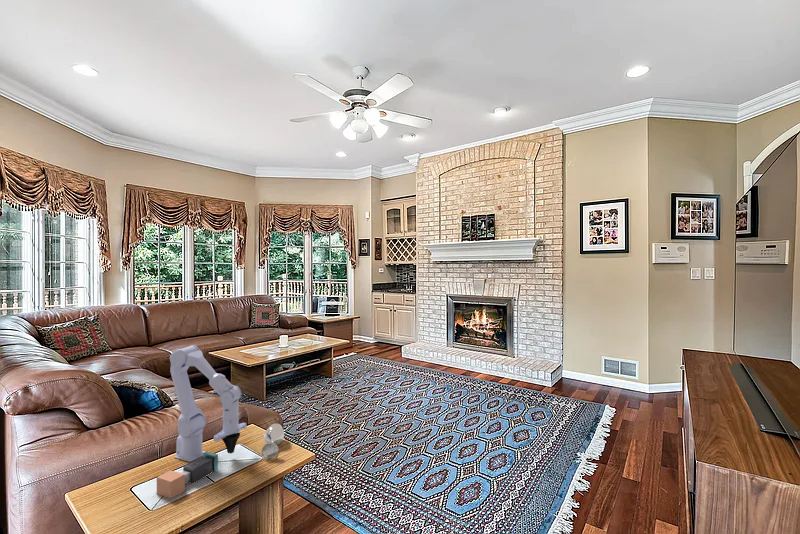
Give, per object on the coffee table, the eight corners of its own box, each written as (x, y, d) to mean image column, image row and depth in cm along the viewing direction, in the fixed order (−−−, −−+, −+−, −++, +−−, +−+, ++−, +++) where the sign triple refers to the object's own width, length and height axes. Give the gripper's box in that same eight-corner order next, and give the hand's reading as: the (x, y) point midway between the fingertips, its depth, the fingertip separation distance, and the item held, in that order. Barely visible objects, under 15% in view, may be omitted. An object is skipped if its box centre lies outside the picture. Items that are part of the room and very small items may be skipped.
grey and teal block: (164, 488, 130) (164, 472, 130) (206, 466, 145) (206, 451, 145) (176, 492, 127) (176, 476, 127) (217, 469, 142) (217, 454, 142)
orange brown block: (156, 493, 127) (156, 477, 128) (170, 485, 132) (170, 470, 132) (170, 498, 125) (170, 481, 125) (184, 490, 129) (184, 474, 129)
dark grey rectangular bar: (183, 480, 135) (183, 466, 135) (202, 469, 143) (202, 456, 143) (193, 483, 133) (193, 469, 133) (212, 472, 141) (212, 459, 141)
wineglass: (283, 456, 152) (287, 435, 170) (277, 437, 152) (282, 418, 169) (262, 463, 151) (268, 441, 168) (257, 444, 150) (263, 424, 168)
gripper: (222, 426, 143) (222, 462, 143) (252, 413, 157) (252, 446, 156) (209, 423, 146) (209, 459, 146) (239, 411, 159) (239, 443, 159)
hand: (230, 452), depth 151 cm, fingers closed
